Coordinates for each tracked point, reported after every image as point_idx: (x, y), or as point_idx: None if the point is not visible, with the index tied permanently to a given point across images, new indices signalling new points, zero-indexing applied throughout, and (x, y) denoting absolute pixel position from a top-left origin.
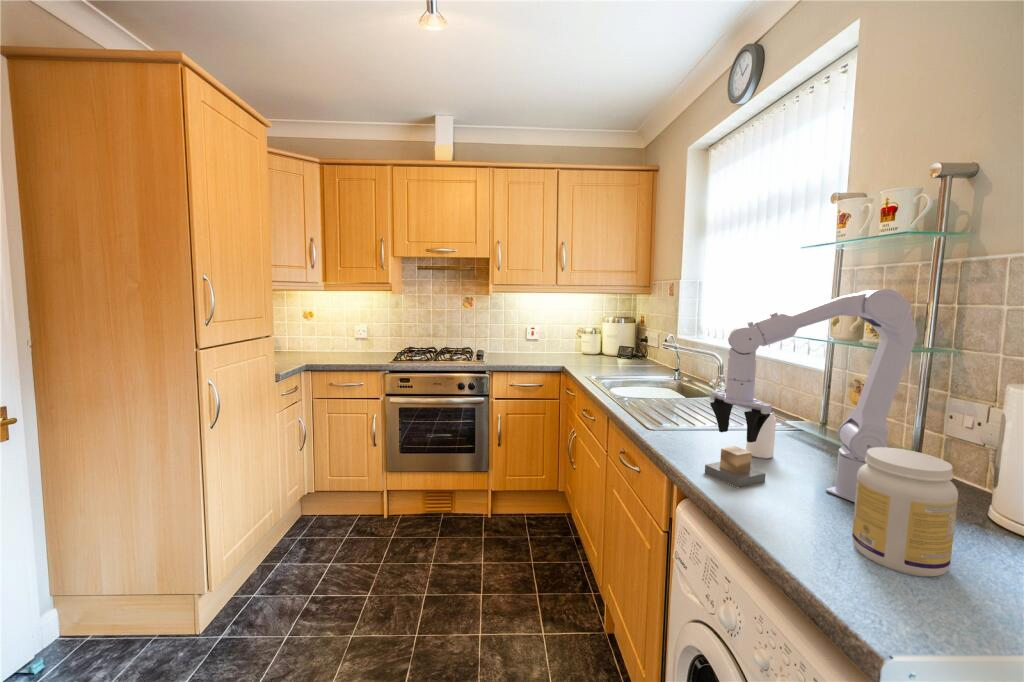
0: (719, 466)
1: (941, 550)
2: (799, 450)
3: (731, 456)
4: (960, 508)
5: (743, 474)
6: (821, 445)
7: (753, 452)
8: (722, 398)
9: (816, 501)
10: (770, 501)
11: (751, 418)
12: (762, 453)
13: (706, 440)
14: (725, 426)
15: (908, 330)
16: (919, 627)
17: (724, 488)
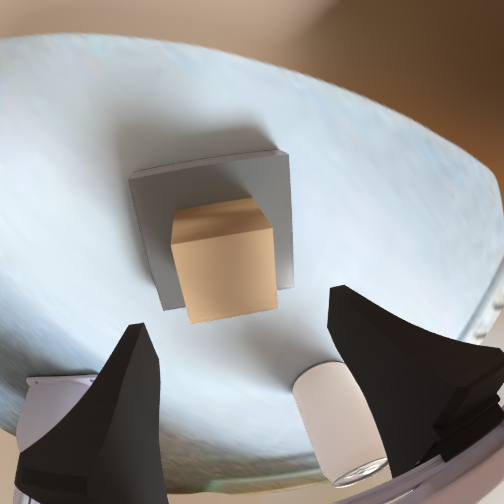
0: (255, 197)
1: None
2: (300, 438)
3: (205, 231)
4: None
5: (165, 234)
6: (300, 461)
7: (320, 371)
8: (457, 490)
9: (49, 322)
10: (42, 211)
11: (43, 449)
12: (303, 384)
13: (432, 318)
14: (341, 334)
15: None
16: None
17: (142, 125)
